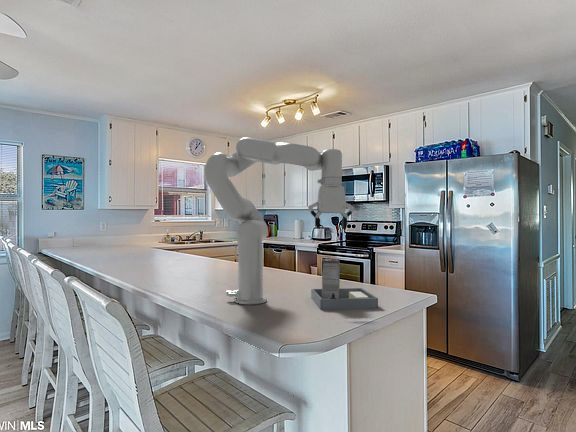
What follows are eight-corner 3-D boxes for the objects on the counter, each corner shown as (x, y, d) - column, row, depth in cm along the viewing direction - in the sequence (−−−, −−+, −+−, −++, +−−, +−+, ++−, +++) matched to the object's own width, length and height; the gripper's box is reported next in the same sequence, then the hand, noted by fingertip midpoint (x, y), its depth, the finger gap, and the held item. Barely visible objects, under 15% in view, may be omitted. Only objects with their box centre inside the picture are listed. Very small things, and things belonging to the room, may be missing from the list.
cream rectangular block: (356, 305, 131) (356, 297, 131) (348, 299, 141) (348, 291, 141) (368, 305, 131) (368, 297, 131) (360, 299, 141) (360, 291, 141)
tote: (320, 312, 125) (320, 299, 125) (311, 300, 143) (311, 288, 143) (378, 311, 127) (378, 298, 127) (361, 299, 146) (361, 288, 146)
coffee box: (322, 299, 140) (322, 258, 140) (339, 300, 139) (339, 258, 139) (321, 305, 131) (321, 260, 131) (339, 306, 130) (339, 261, 130)
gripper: (310, 181, 131) (309, 229, 131) (357, 182, 133) (356, 229, 133) (307, 183, 139) (306, 228, 139) (351, 184, 140) (350, 228, 140)
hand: (330, 228), depth 136 cm, fingers open, 9 cm apart
